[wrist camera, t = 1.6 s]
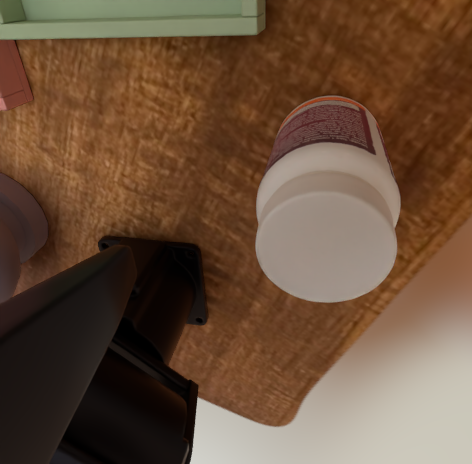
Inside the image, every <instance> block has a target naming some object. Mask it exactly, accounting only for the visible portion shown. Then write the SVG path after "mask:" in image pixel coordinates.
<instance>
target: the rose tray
mask: <svg viewBox="0 0 472 464" xmlns="http://www.w3.org/2000/svg"><path fill="white" fill-rule="evenodd" d="M31 100H33V96H32V93H31V90H30V87H29V84H28V80H27V77H26V74H25V71H24V68H23V65H22V62H21V59H20V56H19V53H18V50H17V47H16V44H15V41H14V40H0V110H3V111H7V110H10V109H12V108H15V107H17V106H19V105H22V104H24V103H26V102H29V101H31Z"/></svg>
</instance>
